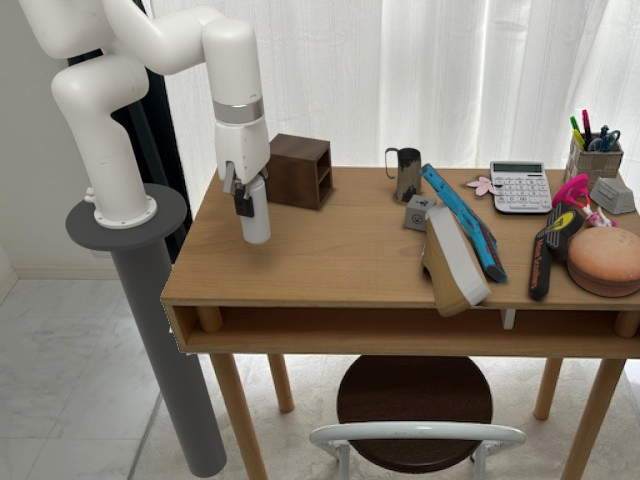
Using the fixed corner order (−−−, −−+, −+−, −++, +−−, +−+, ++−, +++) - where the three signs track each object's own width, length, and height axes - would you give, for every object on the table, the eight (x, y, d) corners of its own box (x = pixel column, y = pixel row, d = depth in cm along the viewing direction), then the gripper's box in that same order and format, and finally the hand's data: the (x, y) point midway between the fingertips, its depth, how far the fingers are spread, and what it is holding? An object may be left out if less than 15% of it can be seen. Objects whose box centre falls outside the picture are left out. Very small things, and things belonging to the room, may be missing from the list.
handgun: (499, 289, 116) (488, 242, 127) (511, 281, 114) (499, 235, 126) (422, 211, 104) (417, 168, 115) (435, 202, 103) (429, 158, 114)
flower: (494, 199, 135) (493, 205, 136) (517, 181, 141) (516, 187, 142) (457, 184, 139) (456, 190, 141) (481, 167, 146) (480, 173, 147)
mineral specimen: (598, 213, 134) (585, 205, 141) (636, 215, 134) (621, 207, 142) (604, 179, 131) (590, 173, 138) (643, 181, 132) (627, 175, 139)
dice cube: (428, 232, 128) (429, 211, 124) (405, 227, 129) (406, 206, 126) (435, 219, 131) (436, 199, 128) (413, 214, 133) (413, 194, 129)
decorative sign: (537, 215, 131) (578, 190, 125) (543, 222, 132) (584, 198, 126) (528, 293, 111) (576, 267, 105) (535, 301, 112) (583, 276, 106)
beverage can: (241, 232, 112) (232, 174, 104) (268, 228, 114) (260, 170, 106) (246, 248, 109) (237, 189, 101) (273, 243, 110) (266, 185, 102)
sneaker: (439, 185, 122) (396, 211, 124) (475, 270, 100) (422, 300, 102) (461, 221, 128) (420, 245, 130) (500, 308, 106) (450, 336, 108)
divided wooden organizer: (267, 201, 136) (260, 151, 128) (284, 181, 142) (278, 132, 134) (318, 210, 133) (314, 160, 125) (333, 189, 140) (330, 141, 132)
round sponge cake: (572, 210, 121) (562, 255, 126) (572, 246, 108) (561, 294, 113) (656, 221, 118) (642, 267, 124) (665, 260, 105) (650, 309, 111)
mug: (420, 191, 140) (422, 142, 132) (421, 204, 136) (423, 155, 128) (385, 191, 140) (385, 142, 132) (385, 204, 136) (385, 155, 128)
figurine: (556, 186, 127) (606, 237, 121) (592, 166, 129) (643, 215, 123) (547, 214, 135) (593, 263, 129) (580, 195, 138) (627, 242, 132)
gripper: (242, 82, 101) (255, 178, 114) (187, 127, 89) (209, 230, 101) (284, 89, 100) (293, 186, 112) (235, 135, 88) (250, 239, 100)
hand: (253, 205), depth 107 cm, fingers closed on beverage can, 4 cm apart
